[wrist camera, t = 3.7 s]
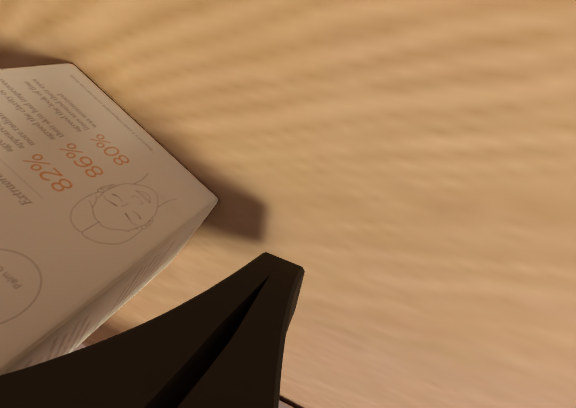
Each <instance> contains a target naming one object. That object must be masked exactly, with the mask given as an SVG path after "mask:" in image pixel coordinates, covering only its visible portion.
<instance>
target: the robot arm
mask: <svg viewBox="0 0 576 408" xmlns="http://www.w3.org/2000/svg"><path fill="white" fill-rule="evenodd" d="M304 272H305V271H304V269H303V267H301V266H299V265H296V264H294V263H291V262H289V261H286V260H284V259H282V258H279V257H277V256H274V255H272V254H269V253H267V252H265V253H262V254H261V255H260V256H258V257H257V258H255V259H254V260H253V261H251V262H250V263H248V264H247V265H245V266H244V267H242V268H241V269H239V270H238V271H236V272H235V273H233V274H232V275H230V276H229V277H227V278H226V279H224V280H222V281H221V282H219V283H218V284H216V285H214V286H213V287H211V288H210V289H208V290H206V291H205V292H203V293H201V294H199V295H198V296H196V297H194V298H192V299H190V300H189V301H187V302H185V303H183V304H181V305H180V306H178V307H176V308H174V309H172V310H170V311H168V312H166V313H164V314H162V315H160V316H158V317H156V318H154V319H152V320H150V321H147V322H145V323H143V324H141V325H139V326H137V327H134V328H132V329H130V330H127V331H125V332H123V333H120V334H118V335H115V336H113V337H111V338H108V339H106V340H103V341H101V342H98V343H96V344H93V345H90V346H88V347H85V348H82V349H80V350H77V351H74V352H71V353H68V354H65V355H62V356H59V357H56V358H53V359H51V360H48V361H45V362H42V363H39V364H36V365H33V366H30V367H27V368H24V369H20V370H17V371H13V372H10V373H6V374H3V375H0V408H293V407H291V406H289V405H288V404H286V403H284V402H282V401H280V400H279V393H280V380H281V369H282V360H283V352H284V344H285V337H286V332H287V330H288V327H289V324H290V321H291V319H292V316H293V314H294V311H295V308H296V304H297V300H298V296H299V292H300V288H301V284H302V280H303V276H304Z"/></svg>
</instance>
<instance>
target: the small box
mask: <svg viewBox="0 0 576 408" xmlns="http://www.w3.org/2000/svg"><path fill="white" fill-rule="evenodd" d="M217 202H218V199H217V197H216V196H215V195H214V194H213V193H212V192H211V191H209V190H208V189H207V188H206V187H205V186H204V185H203V184H202V183H201V182H200V181H198V180H197V179H196V178H195V177H194V176H193V175H192V174H191V173H190V172H189V171H188V170H187V169H186V168H185V167H183V166H182V165H181V164H180V163H179V162H178V161H177V160H176V159H175V158H174V157H173V156H172V155H171V154H169V153H168V152H167V151H166V150H165V149H164V148H163V147H162V146H161V145H160V144H159V143H158V142H157V141H156V140H154V139H153V138H152V137H151V136H150V135H149V134H148V133H147V132H146V131H145V130H144V129H143V128H142V127H141V126H139V125H138V124H137V123H136V122H135V121H134V120H133V119H132V118H131V117H130V116H129V115H128V114H127V113H125V112H124V111H123V110H122V109H121V108H120V107H119V106H118V105H117V104H116V103H115V102H114V101H112V100H111V99H110V98H109V97H108V96H107V95H106V94H105V93H104V92H103V91H102V90H101V89H99V88H98V87H97V86H96V85H95V84H94V83H93V82H92V81H91V80H90V79H89V78H87V77H86V76H85V75H84V74H83V73H82V72H81V71H80V70H79V69H78V68H77V67H76V66H75V65H73V64H69V63H64V64H52V65H40V66H30V67H18V68H6V69H0V375H3V374H6V373H10V372H13V371H17V370H20V369H24V368H27V367H30V366H33V365H36V364H39V363H42V362H45V361H48V360H51V359H53V358H56V357H59V356H62V355H65V354H68V353H71V352H72V351H73V350H74V349H75V348H77V347H78V346H79V345H80V344H81V343H82V342H83V341H84V340H85V339H86V338H87V337H88V336H90V335H91V334H92V333H93V332H94V331H95V330H96V329H97V328H98V327H100V326H101V325H102V324H103V323H104V322H105V321H106V320H107V319H109V318H110V317H111V316H112V315H113V314H114V313H115V312H116V311H118V310H119V309H120V308H121V307H122V306H123V305H124V304H126V303H127V302H128V301H129V300H130V299H131V298H132V297H134V296H135V295H136V294H137V293H138V292H139V291H140V290H141V289H142V288H144V287H145V286H146V285H147V284H148V283H149V282H150V281H151V280H152V279H153V278H155V277H156V276H157V275H158V274H159V273H160V272H161V271H162V270H163V269H165V268H166V267H167V266H168V265H169V264H170V263H171V262H172V261H173V259H174V258H175V257H176V256H177V255H178V253H179V252H180V251H181V250H182V248H183V247H184V246H185V244H186V243H187V242H188V240H189V239H190V238H191V237H192V235H193V234H194V233H195V231H196V230H197V229H198V228H199V226H200V225H201V224H202V222H203V221H204V220H205V219H206V217H207V216H208V215H209V213H210V212H211V210H212V209H213V208H214V206H215V205H216V204H217Z"/></svg>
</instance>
